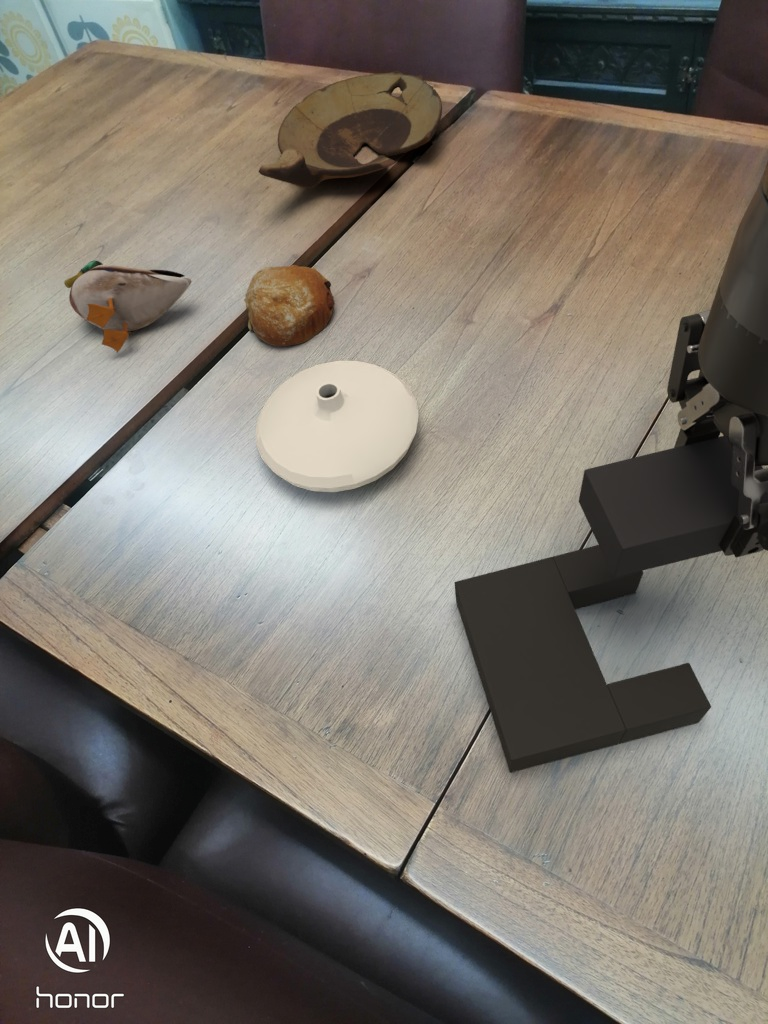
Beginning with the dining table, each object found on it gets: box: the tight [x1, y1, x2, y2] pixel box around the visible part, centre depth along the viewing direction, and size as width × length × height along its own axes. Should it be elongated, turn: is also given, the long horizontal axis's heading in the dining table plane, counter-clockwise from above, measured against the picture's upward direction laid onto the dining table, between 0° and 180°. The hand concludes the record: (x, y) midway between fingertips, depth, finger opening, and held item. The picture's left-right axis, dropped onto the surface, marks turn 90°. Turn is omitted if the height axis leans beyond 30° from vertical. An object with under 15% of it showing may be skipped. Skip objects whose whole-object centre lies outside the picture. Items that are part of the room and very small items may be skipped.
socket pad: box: [454, 544, 712, 773], centre depth 52 cm, size 14×14×4 cm
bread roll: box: [243, 264, 335, 348], centre depth 78 cm, size 10×10×8 cm
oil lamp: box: [258, 70, 443, 189], centre depth 94 cm, size 22×30×8 cm
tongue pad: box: [578, 435, 768, 577], centre depth 43 cm, size 10×6×4 cm, turn 102°
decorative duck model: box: [63, 260, 192, 353], centre depth 81 cm, size 15×8×15 cm
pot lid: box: [255, 360, 420, 493], centre depth 65 cm, size 16×16×7 cm
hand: (711, 504), depth 44 cm, fingers closed on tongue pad, 6 cm apart
